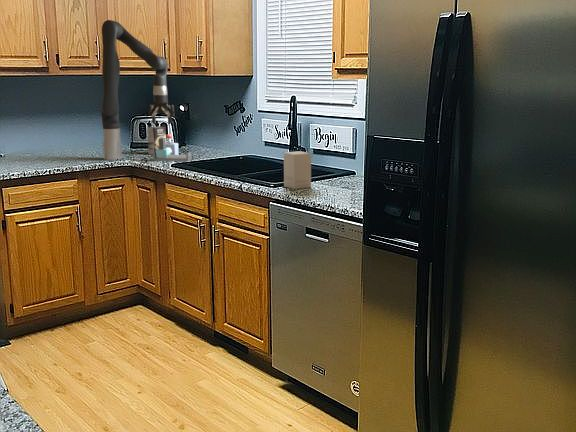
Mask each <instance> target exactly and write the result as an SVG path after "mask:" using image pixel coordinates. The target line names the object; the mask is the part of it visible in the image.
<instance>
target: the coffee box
mask: <svg viewBox="0 0 576 432" xmlns="http://www.w3.org/2000/svg"><path fill="white" fill-rule="evenodd" d="M166 133H167V131H166V126H149V127H147V147H148V148H147V149H148V152H147V153H148V155H151V156H153V153H154V152H156V149H159V138H165V142H166V143H167V138H166V135H167V134H166Z"/></svg>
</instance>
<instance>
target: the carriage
mask: <svg viewBox="0 0 576 432" xmlns="http://www.w3.org/2000/svg"><path fill="white" fill-rule="evenodd" d="M166 143H167V141H166V142H165V138H159V149H156V157H160V158H167V155H169V149H166Z"/></svg>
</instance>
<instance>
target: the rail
mask: <svg viewBox="0 0 576 432" xmlns="http://www.w3.org/2000/svg"><path fill="white" fill-rule="evenodd" d="M152 158H153V162H190V161H192V151H188V152H186V153H185V154H179V155H167V158H160V157H156V152H154V153H153V155H152Z"/></svg>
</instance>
